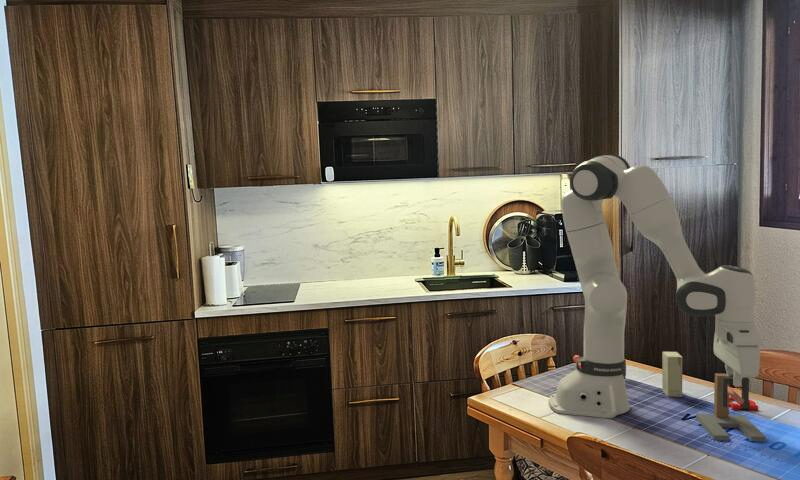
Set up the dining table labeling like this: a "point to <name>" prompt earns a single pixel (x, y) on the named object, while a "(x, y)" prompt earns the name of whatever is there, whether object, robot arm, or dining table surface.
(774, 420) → the dining table surface
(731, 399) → the tow hook
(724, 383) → the bight
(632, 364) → the dining table surface
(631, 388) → the dining table surface
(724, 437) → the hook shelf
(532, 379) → the dining table surface
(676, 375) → the skincare box
